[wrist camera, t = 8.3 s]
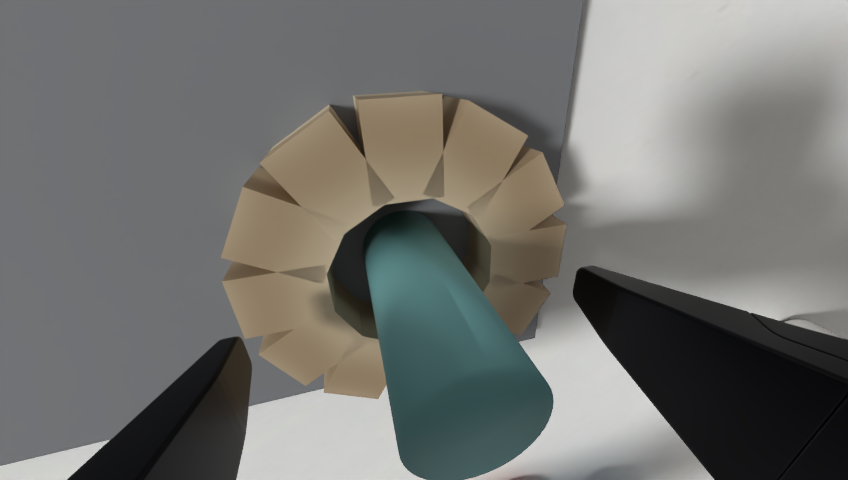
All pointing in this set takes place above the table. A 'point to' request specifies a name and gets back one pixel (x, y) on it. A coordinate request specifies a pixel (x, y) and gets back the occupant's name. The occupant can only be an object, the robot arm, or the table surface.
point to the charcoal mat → (204, 171)
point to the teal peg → (447, 357)
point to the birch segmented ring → (359, 198)
